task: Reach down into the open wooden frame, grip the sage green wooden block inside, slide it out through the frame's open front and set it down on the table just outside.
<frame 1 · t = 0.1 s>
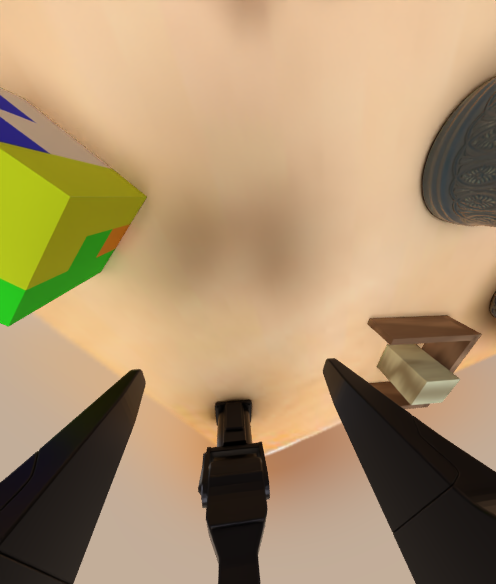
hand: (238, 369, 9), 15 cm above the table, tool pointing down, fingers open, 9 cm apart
block: (394, 354, 32), on the table
puzzle toy: (72, 201, 18), on the table
open wooden frame: (389, 355, 32), on the table
canister: (477, 157, 20), on the table
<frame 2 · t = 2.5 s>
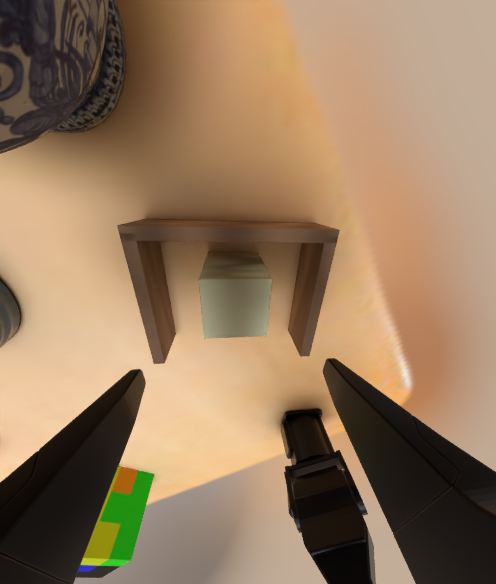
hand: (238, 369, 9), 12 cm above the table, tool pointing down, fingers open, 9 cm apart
block: (233, 275, 20), on the table
puzzle toy: (118, 477, 37), on the table
open wooden frame: (233, 284, 20), on the table
decorative vase: (32, 23, 11), on the table
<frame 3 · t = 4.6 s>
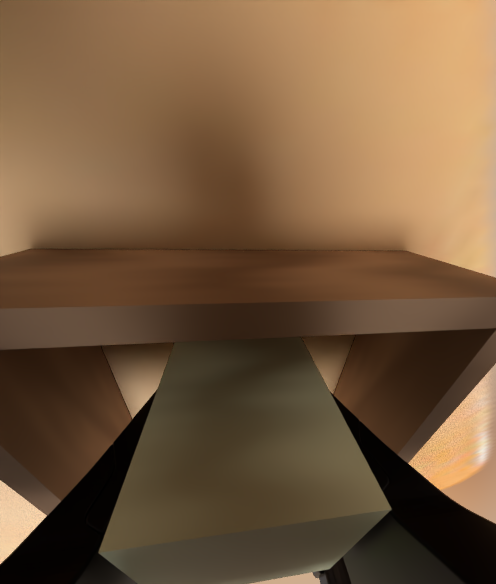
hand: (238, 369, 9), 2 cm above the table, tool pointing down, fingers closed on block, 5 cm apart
block: (237, 346, 10), on the table, touching gripper
open wooden frame: (237, 360, 11), on the table
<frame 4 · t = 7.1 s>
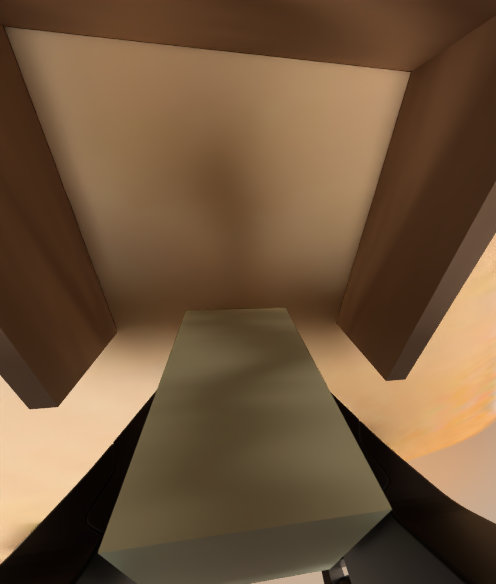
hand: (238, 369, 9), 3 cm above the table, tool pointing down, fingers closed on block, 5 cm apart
block: (236, 346, 10), point 2 cm above the table, touching gripper
open wooden frame: (232, 219, 9), on the table
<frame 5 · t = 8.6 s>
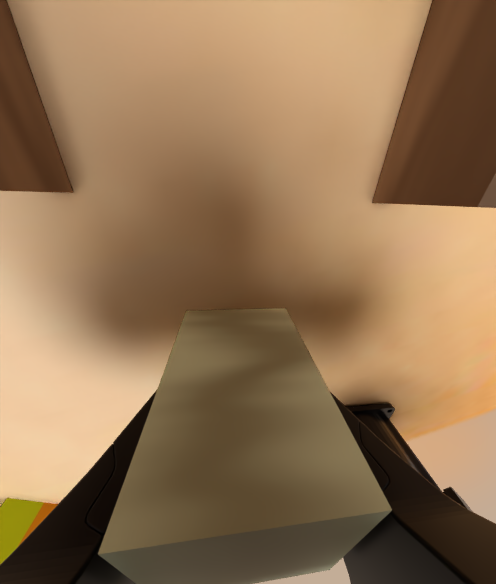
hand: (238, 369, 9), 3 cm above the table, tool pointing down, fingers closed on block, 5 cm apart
block: (236, 347, 10), point 2 cm above the table, touching gripper
puzzle toy: (46, 516, 23), on the table
when the fingers open (2 cm above the table, at t = 9.7 s): block drops 1 cm, on the table.
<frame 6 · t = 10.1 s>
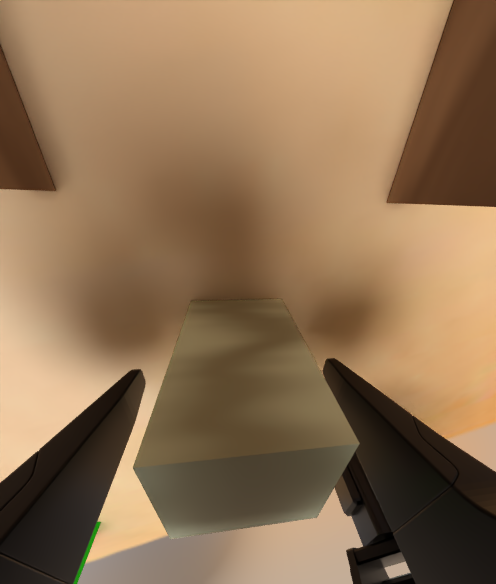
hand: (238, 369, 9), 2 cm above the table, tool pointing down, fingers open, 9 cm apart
block: (237, 335, 11), on the table
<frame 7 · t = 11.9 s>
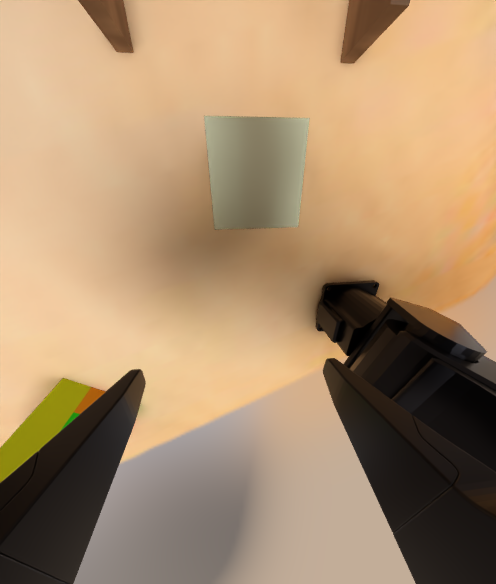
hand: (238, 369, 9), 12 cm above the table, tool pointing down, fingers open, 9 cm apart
block: (245, 185, 16), on the table
puzzle toy: (91, 408, 27), on the table
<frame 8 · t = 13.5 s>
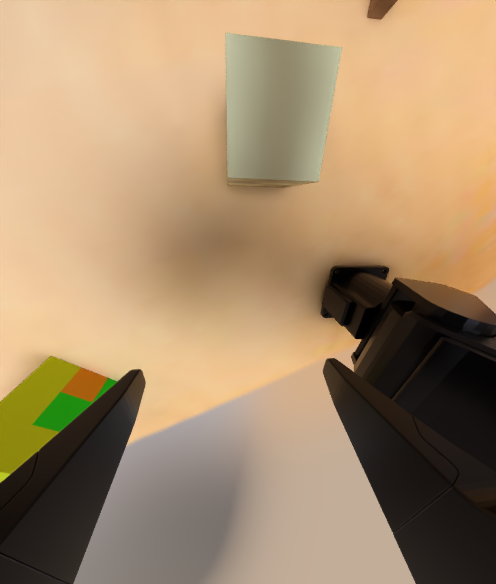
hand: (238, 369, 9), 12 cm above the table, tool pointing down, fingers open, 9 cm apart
block: (257, 150, 15), on the table
puzzle toy: (80, 391, 26), on the table
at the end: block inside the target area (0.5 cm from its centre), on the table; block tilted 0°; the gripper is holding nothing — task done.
